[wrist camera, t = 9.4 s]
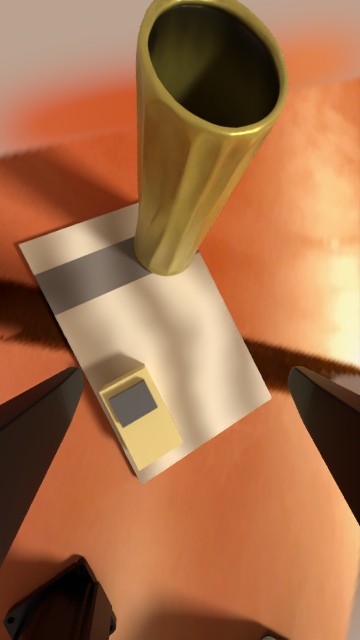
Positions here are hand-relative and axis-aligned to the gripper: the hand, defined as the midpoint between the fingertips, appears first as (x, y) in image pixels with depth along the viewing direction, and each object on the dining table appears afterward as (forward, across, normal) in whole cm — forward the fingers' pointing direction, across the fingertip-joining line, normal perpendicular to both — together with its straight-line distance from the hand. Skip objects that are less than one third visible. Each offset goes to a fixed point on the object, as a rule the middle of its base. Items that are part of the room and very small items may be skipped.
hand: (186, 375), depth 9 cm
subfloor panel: (+11, +3, +3) cm, 12 cm away
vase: (+15, +2, -4) cm, 16 cm away
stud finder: (+7, +4, +9) cm, 12 cm away
